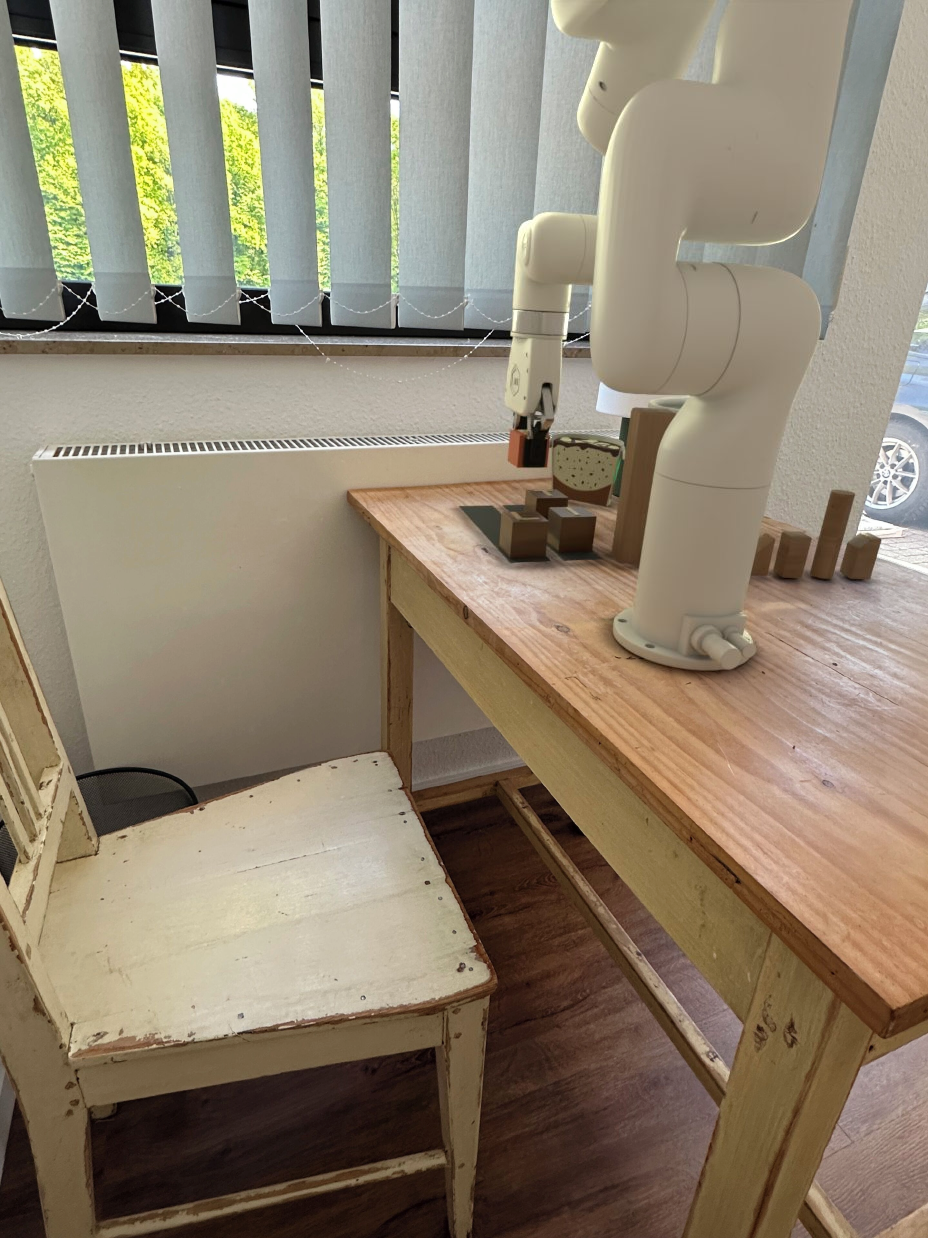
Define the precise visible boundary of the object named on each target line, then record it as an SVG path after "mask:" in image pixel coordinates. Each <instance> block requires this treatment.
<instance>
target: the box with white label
mask: <svg viewBox="0 0 928 1238" xmlns="http://www.w3.org/2000/svg"><path fill="white" fill-rule="evenodd" d="M500 513H501V527H500V541H499V547H500V548H501V550H502V551H503V552H504V553H505V554H506V555H507V556H508V557H509V558H510V559H518V558H544V557H546V556H547V555H546V554H547V547H548V546H547V537H548V527H549V521H548V520H547V519H546V518H544V517H543V516H542V515H541V514H539V513H538V512H537V511H513V512H509V511H501V512H500Z"/></svg>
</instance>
